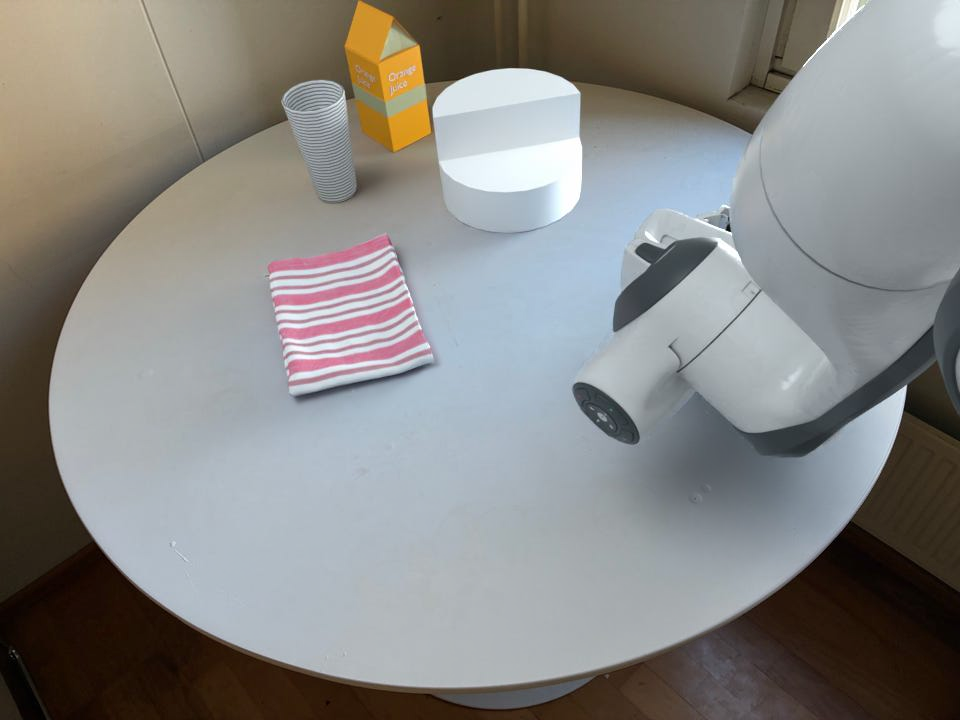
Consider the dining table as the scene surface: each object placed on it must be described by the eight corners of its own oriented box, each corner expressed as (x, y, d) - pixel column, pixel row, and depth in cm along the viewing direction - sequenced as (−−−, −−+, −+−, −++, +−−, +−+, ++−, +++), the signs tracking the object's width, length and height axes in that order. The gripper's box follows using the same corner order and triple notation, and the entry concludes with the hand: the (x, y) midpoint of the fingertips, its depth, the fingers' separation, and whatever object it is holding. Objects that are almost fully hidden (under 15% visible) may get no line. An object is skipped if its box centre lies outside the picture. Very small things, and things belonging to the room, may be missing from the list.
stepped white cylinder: (455, 244, 104) (445, 159, 94) (433, 163, 117) (422, 81, 107) (598, 218, 105) (603, 132, 95) (560, 141, 118) (560, 58, 109)
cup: (299, 188, 115) (271, 93, 103) (349, 168, 118) (327, 72, 106) (323, 216, 110) (296, 118, 98) (375, 193, 113) (355, 96, 101)
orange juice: (393, 152, 120) (370, 26, 105) (361, 132, 124) (335, 8, 110) (432, 132, 123) (415, 6, 108) (399, 113, 128) (379, -10, 113)
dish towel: (393, 247, 104) (389, 226, 102) (437, 367, 89) (433, 347, 86) (269, 278, 102) (261, 257, 99) (291, 407, 86) (283, 387, 84)
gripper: (821, 332, 62) (888, 243, 69) (610, 239, 72) (686, 169, 79) (802, 382, 67) (867, 294, 74) (607, 288, 77) (679, 218, 83)
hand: (772, 229), depth 76 cm, fingers open, 8 cm apart
